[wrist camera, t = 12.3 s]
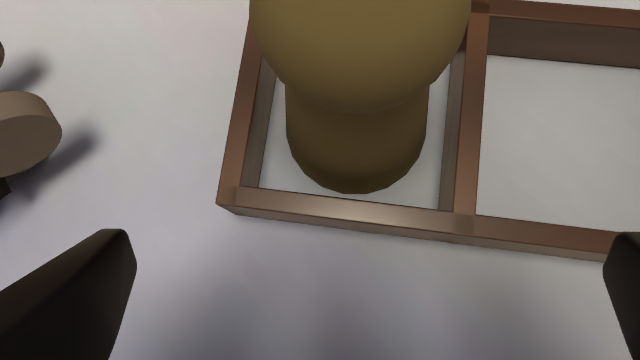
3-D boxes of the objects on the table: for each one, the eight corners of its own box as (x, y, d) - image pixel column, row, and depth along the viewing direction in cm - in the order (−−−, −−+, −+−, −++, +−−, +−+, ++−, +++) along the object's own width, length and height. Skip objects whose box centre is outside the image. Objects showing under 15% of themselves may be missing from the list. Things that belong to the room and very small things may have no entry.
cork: (322, 219, 19) (286, 147, 9) (264, 97, 21) (170, -96, 10) (451, 156, 20) (572, 10, 9) (385, 39, 21) (421, -212, 10)
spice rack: (673, 271, 18) (736, 270, 15) (234, 214, 20) (214, 204, 17) (671, 54, 20) (726, 16, 17) (268, 18, 22) (255, -23, 19)
